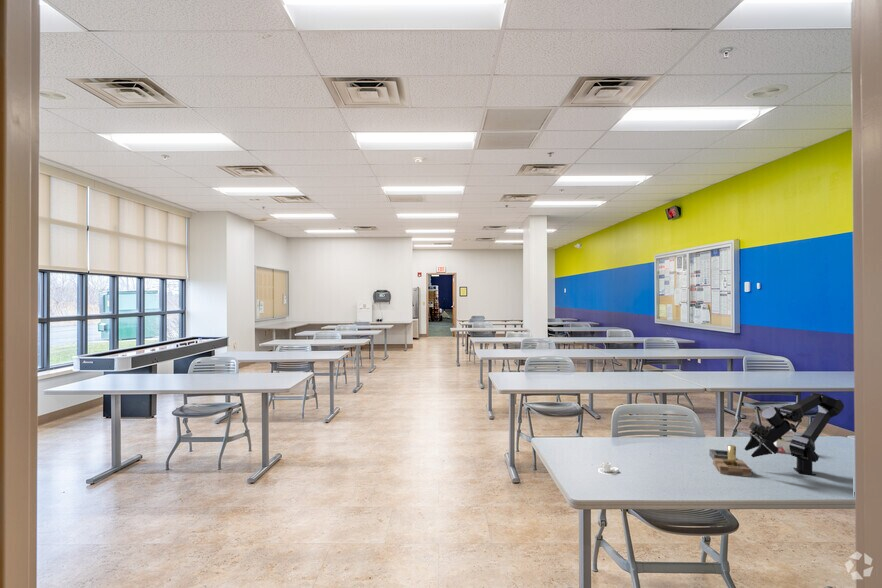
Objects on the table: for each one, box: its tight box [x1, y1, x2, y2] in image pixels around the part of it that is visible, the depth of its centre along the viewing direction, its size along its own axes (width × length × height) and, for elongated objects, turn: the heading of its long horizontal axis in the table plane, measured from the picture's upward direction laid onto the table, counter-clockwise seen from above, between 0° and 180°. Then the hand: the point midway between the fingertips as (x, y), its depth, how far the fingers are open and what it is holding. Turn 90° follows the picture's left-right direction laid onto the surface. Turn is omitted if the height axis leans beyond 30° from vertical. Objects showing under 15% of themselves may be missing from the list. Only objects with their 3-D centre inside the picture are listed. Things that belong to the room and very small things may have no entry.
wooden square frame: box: [712, 458, 752, 477], centre depth 217 cm, size 12×12×3 cm
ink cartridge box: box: [774, 430, 795, 454], centre depth 243 cm, size 9×5×15 cm, turn 84°
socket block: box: [709, 448, 728, 460], centre depth 231 cm, size 9×9×3 cm
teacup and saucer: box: [597, 461, 620, 476], centre depth 214 cm, size 9×8×4 cm
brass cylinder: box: [727, 444, 737, 466], centre depth 217 cm, size 3×3×11 cm
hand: (748, 453), depth 215 cm, fingers open, 9 cm apart
